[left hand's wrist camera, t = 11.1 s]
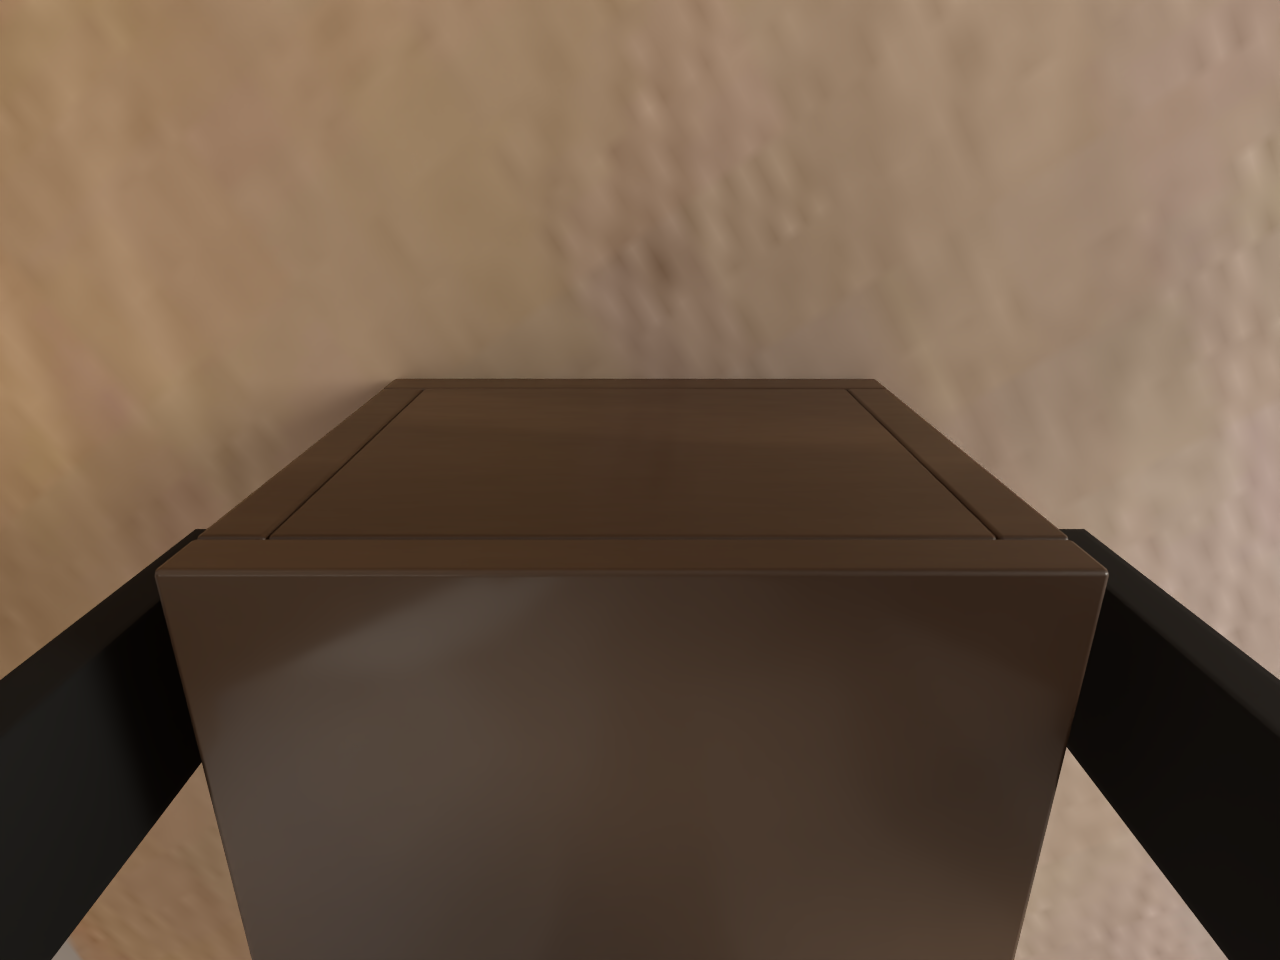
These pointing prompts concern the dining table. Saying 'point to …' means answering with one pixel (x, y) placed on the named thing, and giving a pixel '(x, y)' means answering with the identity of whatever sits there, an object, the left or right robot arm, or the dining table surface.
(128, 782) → the left robot arm
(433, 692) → the cabinet
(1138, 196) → the dining table surface
